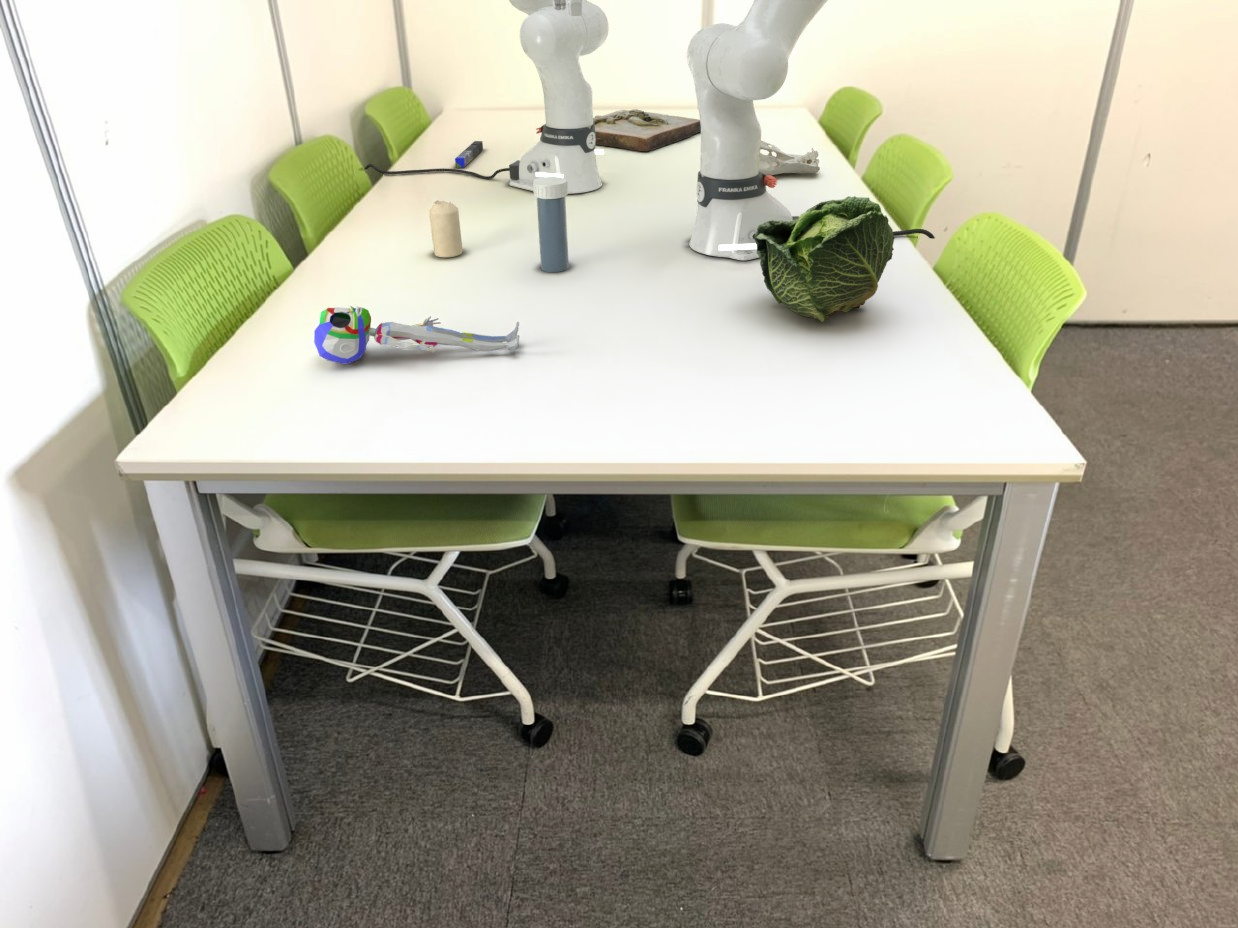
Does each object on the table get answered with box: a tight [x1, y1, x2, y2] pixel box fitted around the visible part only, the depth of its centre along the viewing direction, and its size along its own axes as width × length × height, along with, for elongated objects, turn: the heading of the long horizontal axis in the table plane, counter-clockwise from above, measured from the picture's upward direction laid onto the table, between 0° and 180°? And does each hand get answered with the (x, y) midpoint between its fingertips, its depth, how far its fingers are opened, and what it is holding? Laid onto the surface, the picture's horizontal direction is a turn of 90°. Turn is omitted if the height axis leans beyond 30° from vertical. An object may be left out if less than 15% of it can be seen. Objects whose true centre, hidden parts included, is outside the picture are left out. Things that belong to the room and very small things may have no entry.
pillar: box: [454, 140, 484, 169], centre depth 238 cm, size 2×2×20 cm
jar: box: [536, 196, 570, 273], centre depth 164 cm, size 5×5×16 cm
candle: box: [428, 200, 464, 258], centre depth 172 cm, size 6×6×10 cm
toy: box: [312, 305, 520, 365], centre depth 135 cm, size 10×8×30 cm
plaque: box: [593, 108, 701, 152], centre depth 257 cm, size 30×7×30 cm
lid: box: [532, 177, 568, 199], centre depth 160 cm, size 6×6×2 cm
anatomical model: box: [759, 140, 821, 176], centre depth 220 cm, size 15×9×25 cm
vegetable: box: [754, 195, 896, 323], centre depth 144 cm, size 20×19×20 cm
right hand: (567, 13), depth 143 cm, fingers open, 8 cm apart
